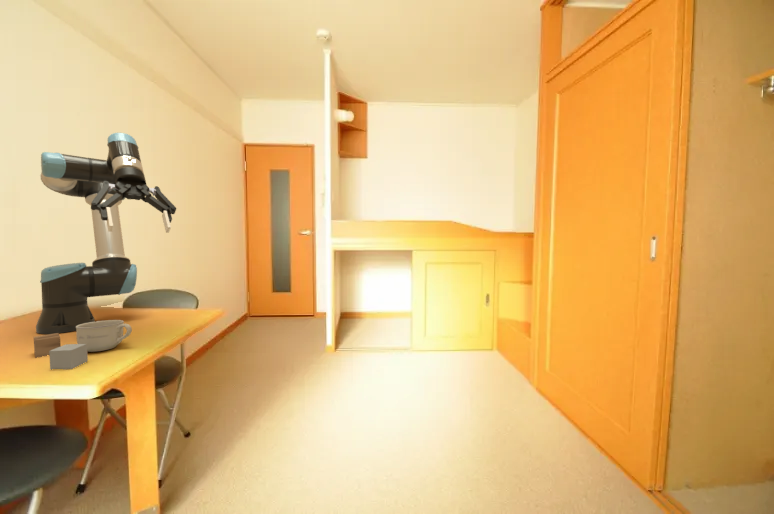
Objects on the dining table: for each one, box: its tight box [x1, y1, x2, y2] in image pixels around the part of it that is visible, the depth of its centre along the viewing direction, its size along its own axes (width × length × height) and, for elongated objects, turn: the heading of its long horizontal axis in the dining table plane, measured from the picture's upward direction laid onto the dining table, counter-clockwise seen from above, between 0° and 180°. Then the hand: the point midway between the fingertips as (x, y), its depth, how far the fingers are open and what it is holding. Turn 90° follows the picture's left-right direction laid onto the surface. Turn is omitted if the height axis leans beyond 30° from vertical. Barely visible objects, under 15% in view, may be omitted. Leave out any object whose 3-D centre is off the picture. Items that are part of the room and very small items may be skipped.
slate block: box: [49, 343, 89, 371], centre depth 85 cm, size 5×5×5 cm
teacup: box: [75, 319, 132, 353], centre depth 97 cm, size 14×11×8 cm
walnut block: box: [33, 333, 62, 359], centre depth 93 cm, size 5×5×5 cm
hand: (141, 229), depth 94 cm, fingers open, 13 cm apart
